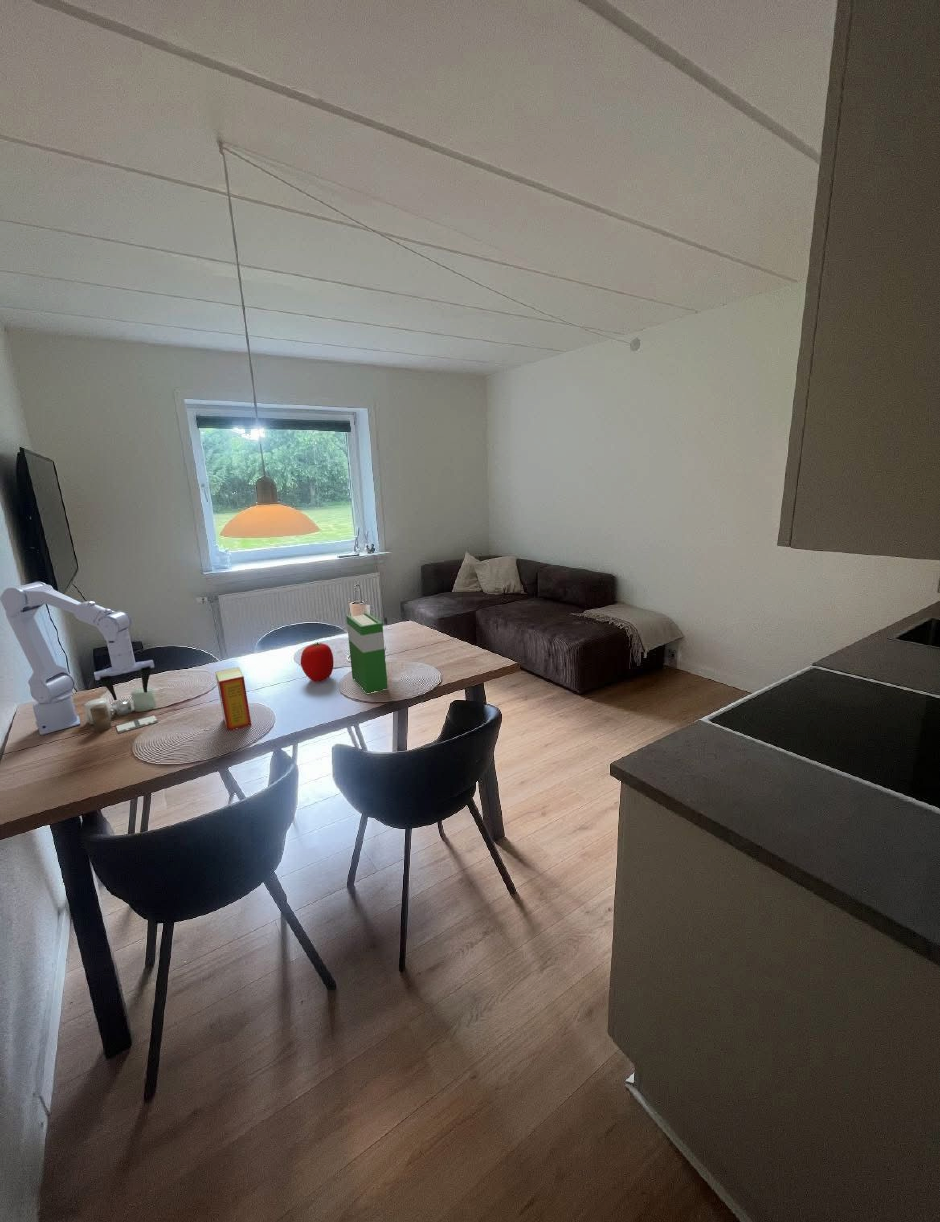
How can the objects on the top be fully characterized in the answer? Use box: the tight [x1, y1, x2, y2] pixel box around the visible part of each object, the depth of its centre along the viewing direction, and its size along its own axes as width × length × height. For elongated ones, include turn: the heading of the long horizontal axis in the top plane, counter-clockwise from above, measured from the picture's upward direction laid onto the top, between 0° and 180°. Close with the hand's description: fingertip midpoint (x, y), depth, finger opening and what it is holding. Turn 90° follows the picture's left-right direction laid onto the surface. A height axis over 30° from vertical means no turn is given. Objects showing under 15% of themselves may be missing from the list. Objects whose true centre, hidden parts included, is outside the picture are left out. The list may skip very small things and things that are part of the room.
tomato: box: [300, 642, 334, 683], centre depth 178 cm, size 13×11×14 cm
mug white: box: [84, 697, 113, 725], centre depth 153 cm, size 6×8×6 cm
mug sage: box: [130, 686, 157, 713], centre depth 160 cm, size 6×8×6 cm
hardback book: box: [345, 611, 389, 694], centre depth 171 cm, size 18×7×24 cm, turn 29°
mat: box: [115, 714, 159, 734], centre depth 149 cm, size 10×7×1 cm
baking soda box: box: [214, 666, 252, 732], centre depth 146 cm, size 10×6×16 cm
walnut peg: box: [90, 704, 113, 733], centre depth 146 cm, size 4×4×7 cm
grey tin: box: [111, 699, 133, 717], centre depth 157 cm, size 5×5×4 cm
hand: (130, 695), depth 147 cm, fingers open, 7 cm apart
